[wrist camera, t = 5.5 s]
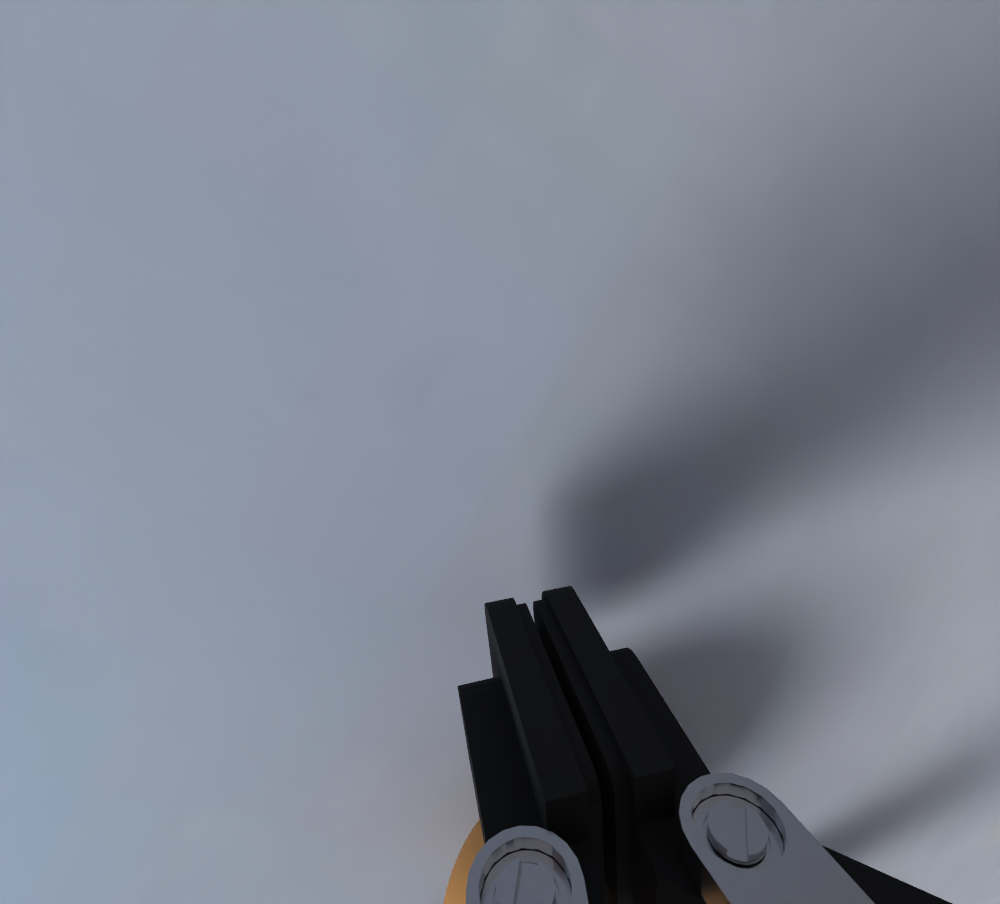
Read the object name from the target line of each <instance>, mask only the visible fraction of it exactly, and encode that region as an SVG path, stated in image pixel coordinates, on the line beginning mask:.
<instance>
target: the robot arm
mask: <svg viewBox="0 0 1000 904" xmlns="http://www.w3.org/2000/svg"><path fill="white" fill-rule="evenodd" d="M533 611H534V621H533V619H532V616H531V614H530V611H529V609H528V607H527V605H526V603H524V604H519V605H516V602H515V600H514V598H509V599H504V600H499V601H494V602H489V603H485V615H486V623H487V631H488V639H489V647H490V655H491V663H492V672H493V678H491V679H486V680H482V681H477V682H473V683H469V684H464V685H460V686H458V691H459V698H460V704H461V711H462V717H463V724H464V730H465V736H466V742H467V748H468V754H469V760H470V765H471V771H472V777H473V783H474V788H475V794H476V800H477V805H478V811H479V817H480V822H481V828H482V834H483V840H484V846H483V847H482V848H481V849H480V851H479V852H478V853H477V854H476V857H475V859H474V861H473V863H472V865H471V868H470V870H469V873H468V880H467V887H466V904H952V903H950V902H947V901H945V900H943V899H941V898H938V897H936V896H934V895H932V894H929V893H927V892H925V891H923V890H920V889H918V888H916V887H914V886H912V885H909V884H907V883H905V882H903V881H900V880H898V879H896V878H894V877H891V876H889V875H887V874H885V873H882V872H880V871H878V870H876V869H874V868H871V867H869V866H867V865H865V864H862V863H860V862H858V861H856V860H853V859H851V858H849V857H847V856H844V855H842V854H840V853H838V852H836V851H833V850H831V849H829V848H827V847H824V846H822V845H821V844H820V843H819V842H818V841H817V840H816V839H815V838H814V837H813V835H812V834H811V833H810V832H809V831H808V830H807V829H806V828H805V827H804V826H803V825H802V823H801V822H800V821H799V820H798V819H797V818H796V817H795V816H794V815H793V814H792V813H791V811H790V810H789V809H788V808H787V807H786V806H785V805H784V804H783V803H782V802H781V801H780V800H779V799H778V798H777V797H776V796H775V795H774V794H772V793H771V792H770V791H769V790H768V789H767V788H765V787H763V786H762V785H760V784H758V783H756V782H754V781H753V780H751V779H749V778H746V777H742V776H739V775H735V774H732V773H712V774H710V772H709V770H708V769H707V767H706V766H705V764H704V763H703V761H702V759H701V758H700V756H699V755H698V753H697V751H696V750H695V748H694V747H693V745H692V744H691V742H690V740H689V739H688V737H687V736H686V734H685V732H684V731H683V729H682V728H681V726H680V725H679V723H678V721H677V720H676V718H675V717H674V715H673V714H672V712H671V710H670V709H669V707H668V706H667V704H666V702H665V701H664V699H663V698H662V696H661V695H660V693H659V691H658V690H657V688H656V687H655V685H654V684H653V682H652V680H651V679H650V677H649V676H648V674H647V672H646V671H645V669H644V668H643V666H642V665H641V663H640V661H639V660H638V658H637V657H636V655H635V654H634V653H633V651H632V650H631V649H629V648H623V649H619V650H614V651H609V650H608V648H607V646H606V644H605V643H604V641H603V639H602V637H601V636H600V634H599V632H598V630H597V629H596V627H595V625H594V624H593V622H592V620H591V618H590V617H589V615H588V613H587V611H586V610H585V608H584V606H583V604H582V603H581V601H580V599H579V597H578V596H577V594H576V592H575V590H574V589H573V588H572V587H571V586H567V587H562V588H558V589H553V590H548V591H543V592H542V600H538V601H534V602H533ZM534 622H535V624H534Z"/></svg>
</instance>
